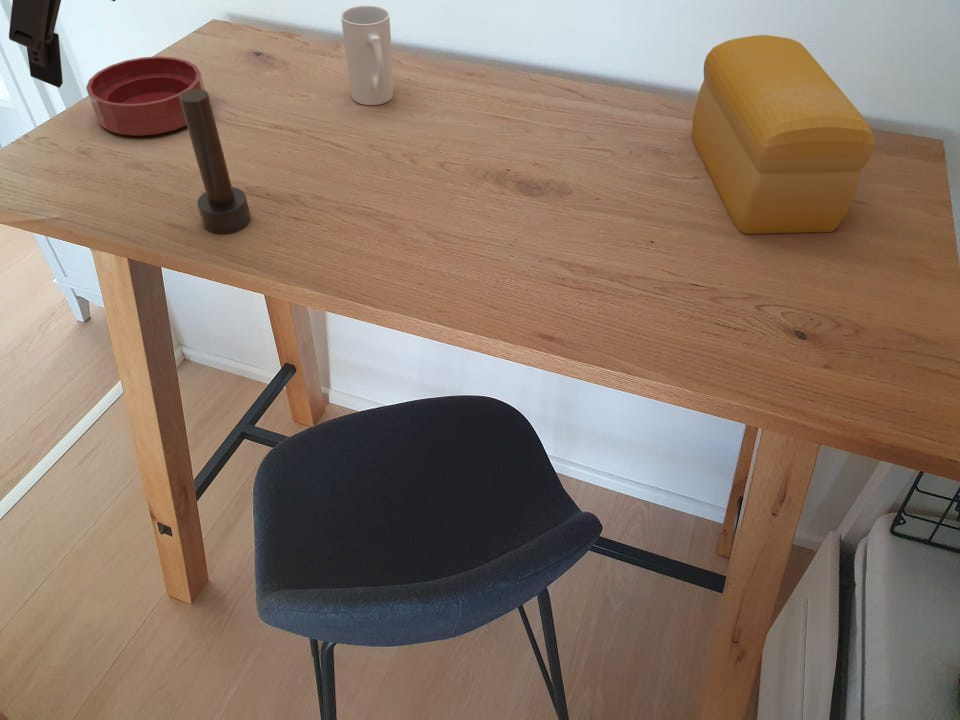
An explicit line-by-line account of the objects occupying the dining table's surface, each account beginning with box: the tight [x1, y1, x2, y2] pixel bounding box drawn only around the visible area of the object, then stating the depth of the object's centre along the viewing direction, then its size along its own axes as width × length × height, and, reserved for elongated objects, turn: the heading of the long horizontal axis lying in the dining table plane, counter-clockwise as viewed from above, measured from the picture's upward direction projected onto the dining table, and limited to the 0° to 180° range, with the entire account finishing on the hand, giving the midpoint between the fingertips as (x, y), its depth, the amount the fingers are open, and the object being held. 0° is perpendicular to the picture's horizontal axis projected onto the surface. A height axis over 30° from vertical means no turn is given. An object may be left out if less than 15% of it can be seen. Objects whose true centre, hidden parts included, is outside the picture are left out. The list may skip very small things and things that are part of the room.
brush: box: [179, 89, 252, 235], centre depth 87 cm, size 6×6×16 cm
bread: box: [691, 34, 876, 235], centre depth 95 cm, size 24×13×15 cm, turn 3°
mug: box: [340, 5, 394, 106], centre depth 110 cm, size 10×7×12 cm, turn 21°
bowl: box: [85, 55, 206, 137], centre depth 109 cm, size 15×15×5 cm
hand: (76, 35), depth 79 cm, fingers open, 13 cm apart
